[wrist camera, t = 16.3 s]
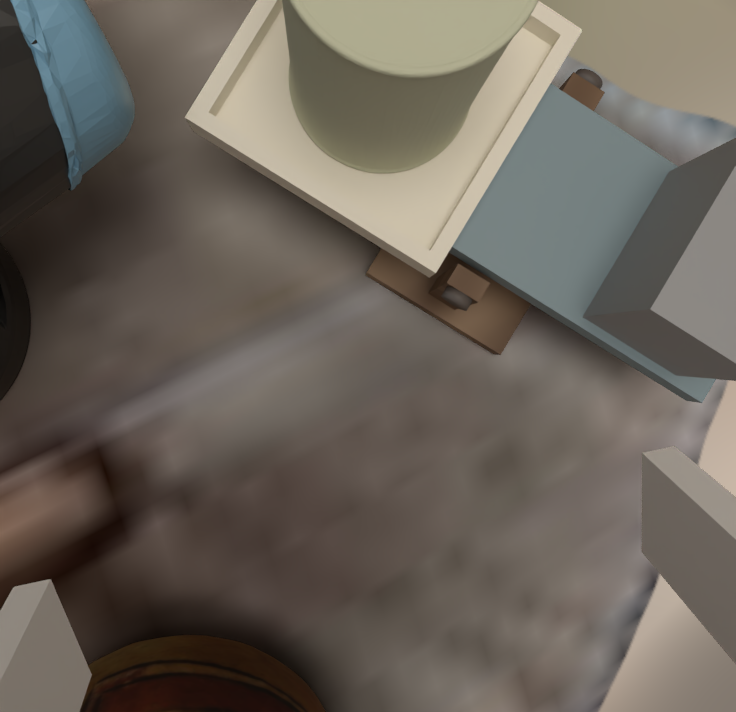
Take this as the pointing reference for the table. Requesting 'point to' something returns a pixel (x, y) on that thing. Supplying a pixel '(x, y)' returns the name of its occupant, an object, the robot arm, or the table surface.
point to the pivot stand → (471, 272)
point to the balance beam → (520, 200)
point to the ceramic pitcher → (195, 679)
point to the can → (392, 73)
